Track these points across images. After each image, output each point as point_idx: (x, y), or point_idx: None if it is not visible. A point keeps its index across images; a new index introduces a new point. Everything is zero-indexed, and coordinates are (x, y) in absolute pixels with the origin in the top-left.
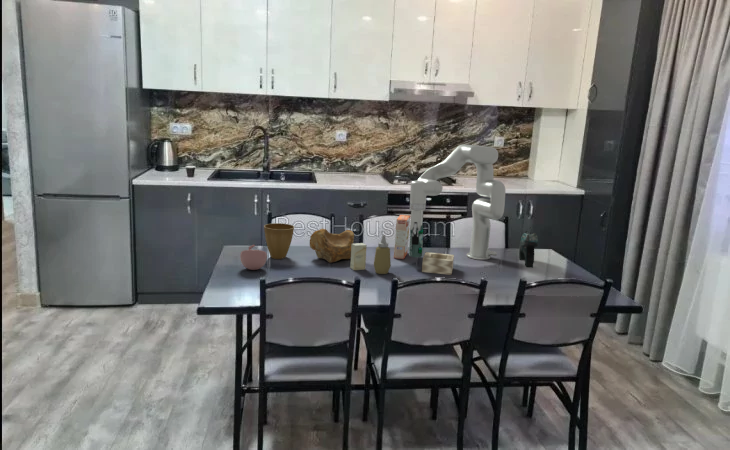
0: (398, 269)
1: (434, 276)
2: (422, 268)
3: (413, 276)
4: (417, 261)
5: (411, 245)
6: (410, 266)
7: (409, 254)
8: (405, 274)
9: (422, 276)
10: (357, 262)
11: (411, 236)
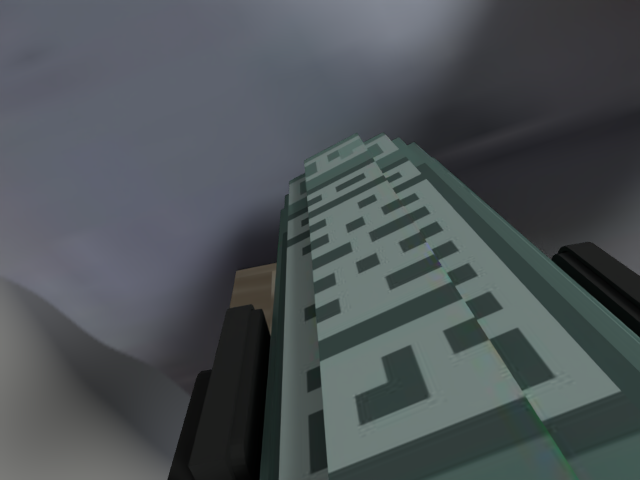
0: (159, 47)
1: (180, 376)
2: (234, 290)
3: (51, 257)
4: (564, 127)
5: (288, 258)
6: (348, 125)
7: (324, 155)
8: (48, 177)
9: (112, 313)
10: None
11: (298, 389)
